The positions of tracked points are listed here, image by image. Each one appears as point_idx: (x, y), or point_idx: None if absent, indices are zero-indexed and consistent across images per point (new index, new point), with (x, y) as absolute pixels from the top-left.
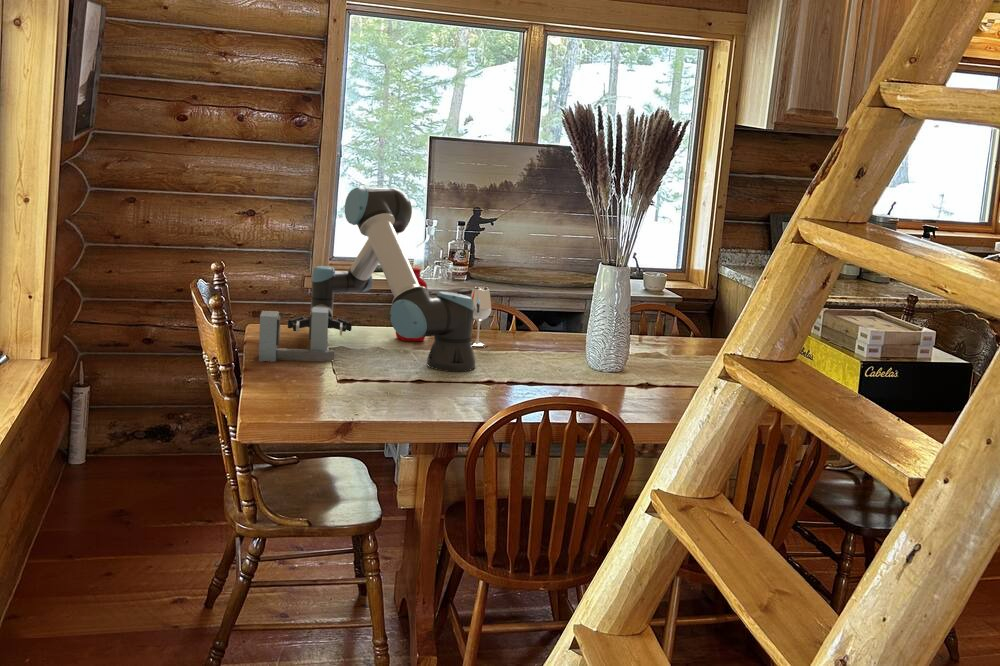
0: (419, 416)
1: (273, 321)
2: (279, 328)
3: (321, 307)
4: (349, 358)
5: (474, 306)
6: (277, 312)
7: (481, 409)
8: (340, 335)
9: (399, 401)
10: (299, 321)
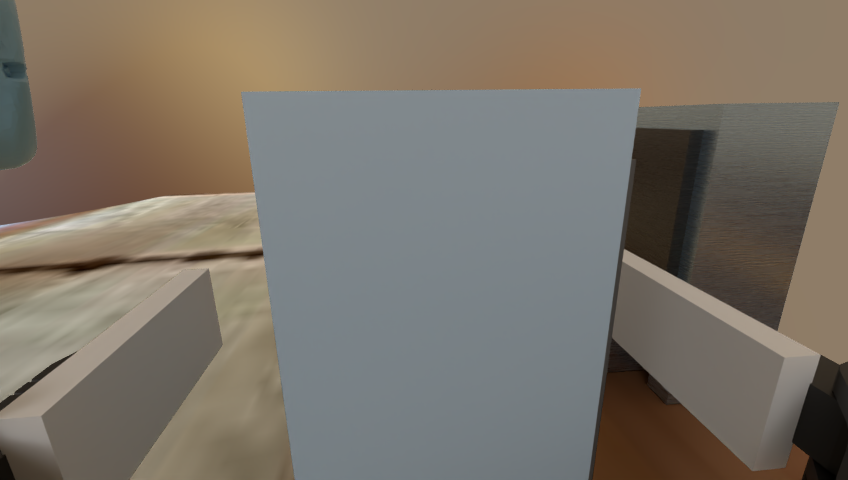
0: (238, 196)
1: None
2: (631, 198)
3: (428, 90)
4: (191, 446)
5: None
6: (696, 105)
7: (109, 210)
8: (214, 344)
9: (238, 212)
10: (773, 351)
